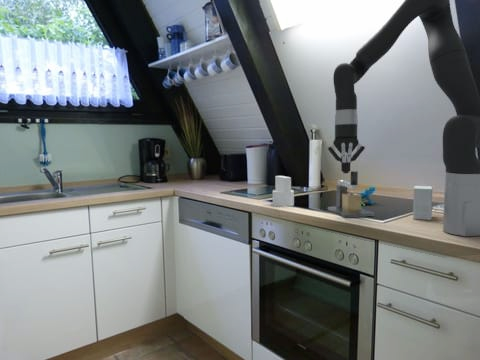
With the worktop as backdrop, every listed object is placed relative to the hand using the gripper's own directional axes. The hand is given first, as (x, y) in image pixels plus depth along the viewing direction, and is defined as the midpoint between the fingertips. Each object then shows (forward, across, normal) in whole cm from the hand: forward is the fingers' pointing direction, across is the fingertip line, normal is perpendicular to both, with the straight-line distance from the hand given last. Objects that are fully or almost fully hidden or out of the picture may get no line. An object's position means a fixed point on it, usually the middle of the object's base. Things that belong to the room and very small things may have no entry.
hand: (345, 173), depth 125 cm
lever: (+6, -2, -6) cm, 9 cm away
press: (+15, -3, -5) cm, 16 cm away
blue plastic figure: (+16, -12, -24) cm, 31 cm away
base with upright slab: (+15, +22, -23) cm, 35 cm away
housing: (+14, -3, -4) cm, 15 cm away
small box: (+16, -25, +2) cm, 30 cm away
